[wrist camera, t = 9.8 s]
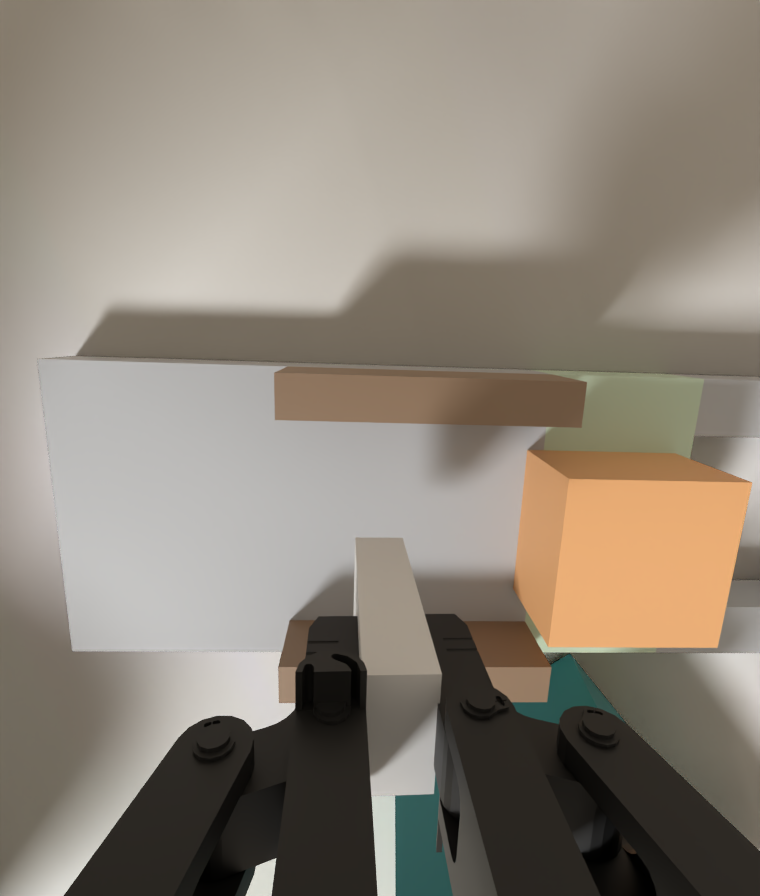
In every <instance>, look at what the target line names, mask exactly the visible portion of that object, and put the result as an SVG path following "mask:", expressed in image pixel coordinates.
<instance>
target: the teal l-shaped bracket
mask: <svg viewBox="0 0 760 896" xmlns="http://www.w3.org/2000/svg"><path fill="white" fill-rule="evenodd" d="M550 666H551V675H550V683H549V691H548V699H547V702H512V704H513V705H514V707H515V709H516V711H517V712H518V713H520V714H522V715H524V716H528V717H531V718H534V719H538V720H543V721H547V722H551V723H556V724H559V719H560V717H561V715H562V714H563V712H564V711H565V710H567V709H569V708H571V707H573V706H590V707H595V708H599V709H602V710H604V711H607V712H609V713H611V714H613V715H615V716H617V717H618V718H619V719H621V720H622V721H623V722H625V721H624V720H623V719H622V717H621V716H620V715H619V714H618V713H617V711H616V710H615V709H614V708H613V706H612V705H611V704H610V703H609V701H608V700H607V699H606V698H605V696H604V695H603V694H602V693H601V691H600V690H599V689H598V688H597V686H596V685H595V684H594V683H593V681H592V680H591V679H590V678H589V676H588V675H587V674H586V673H585V672H584V670H583V669H582V668H581V667H580V665H579V664H578V663H577V662H576V660H575V659H574V658H573V657H572V655H571V654H568V655H566V656H565V657H563V658H561V659H560V660H558V661H556V662H555V663H553V664H551V665H550ZM625 723H626V722H625ZM439 796H440V794H439V789H438V784H437V780H436V775H435V785H434V794H422V795H395V832H396V896H453V893H452V888H451V883H450V878H449V873H448V867H447V862H446V857H445V852H444V846H443V844H442V852H437V853H436V838H437V824H438V810H439Z"/></svg>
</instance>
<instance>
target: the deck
mask: <svg viewBox="0 0 760 896" xmlns="http://www.w3.org/2000/svg"><path fill="white" fill-rule="evenodd" d="M37 363H38V371H39V379H40V388H41V396H42V404H43V413H44V421H45V429H46V438H47V446H48V455H49V463H50V471H51V480H52V488H53V496H54V505H55V513H56V521H57V530H58V538H59V546H60V555H61V563H62V571H63V580H64V588H65V596H66V605H67V613H68V621H69V630H70V638H71V646H72V651H148V652H282V654H281V658H280V663H279V667H278V671H279V703H295V672H296V669H297V667H298V665H299V663H300V662H301V661H302V660H304V659H305V656H306V648H307V640H308V632H309V627H310V626H311V625H312V624H313V622H314V621H315V620H316V619H317V618H318V616H353V612H354V569H355V537H359V538H403V541H404V544H405V548H406V551H407V555H408V558H409V562H410V565H411V569H412V572H413V576H414V579H415V582H416V586H417V589H418V593H419V596H420V600H421V603H422V607H423V610H424V614H455V615H456V616H458V617H459V618H460V619H461V620H462V621H463V622H464V623H466V624H467V626H468V628H469V631H470V633H471V635H472V638H473V640H474V642H475V645H476V647H477V651H478V652H479V654H480V656H481V659H482V661H483V664H484V666H485V668H486V671H487V673H488V675H489V678H490V680H491V682H492V685H493V687H494V688H495V689H497V690H499V691H500V692H502V693H503V694H504V695H506V696H507V697H508V698H509V700H510V701H511V702H547V699H548V691H549V683H550V675H551V666H550V664H549V662H548V660H547V659H546V657H545V655H544V654H543V652H570V653H760V580H732V581H731V586H730V591H729V596H728V601H727V605H726V610H725V615H724V620H723V624H722V629H721V634H720V639H719V644H718V648H632V647H548V646H547V644H546V642H545V641H544V639H543V637H542V636H541V634H540V633H539V631H538V629H537V628H536V626H535V624H534V623H533V621H532V619H531V618H530V616H529V614H528V613H527V611H526V609H525V608H524V606H523V604H522V603H521V601H520V599H519V598H518V596H517V594H516V593H515V591H514V590H513V584H514V574H515V565H516V555H517V545H518V535H519V525H520V516H521V506H522V496H523V486H524V476H525V467H526V457H527V450H554V451H597V452H641V453H676V454H678V455H681V456H684V457H686V458H689V459H690V457H691V451H692V446H693V440H694V436H716V437H757V438H760V377H754V376H721V375H688V374H655V373H623V372H590V371H557V370H524V369H491V368H458V367H426V366H393V365H360V364H327V363H294V362H261V361H229V360H196V359H163V358H130V357H97V356H67V357H55V358H42V359H37Z"/></svg>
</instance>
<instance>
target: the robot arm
mask: <svg viewBox="0 0 760 896" xmlns="http://www.w3.org/2000/svg"><path fill="white" fill-rule="evenodd" d="M435 775H436V780H437V784H438V789H439V794H440V796H439V810H438V824H437V838H436V853H437V852H442V844H443V846H444V852H445V857H446V862H447V867H448V873H449V878H450V883H451V888H452V893H453V896H760V851H759V850H758V849H757V848H756V847H755V846H754V845H753V844H752V843H751V842H750V841H748V840H747V839H746V838H745V837H744V836H743V835H742V834H741V833H740V832H739V831H738V830H737V829H736V828H735V827H734V826H733V825H732V824H731V823H730V822H729V821H728V820H727V819H725V818H724V817H723V816H722V815H721V814H720V813H719V812H718V811H717V810H716V809H715V808H714V807H713V806H712V805H711V804H710V803H709V802H708V801H707V800H706V799H705V798H704V797H702V796H701V795H700V794H699V793H698V792H697V791H696V790H695V789H694V788H693V787H692V786H691V785H690V784H689V783H688V782H687V781H686V780H685V779H684V778H683V777H682V776H681V775H680V774H678V773H677V772H676V771H675V770H674V769H673V768H672V767H671V766H670V765H669V764H668V763H667V762H666V761H665V760H664V759H663V758H662V757H661V756H660V755H659V754H658V753H657V752H655V751H654V750H653V749H652V748H651V747H650V746H649V745H648V744H647V743H646V742H645V741H644V740H643V739H642V738H641V737H640V736H639V735H638V734H637V733H636V732H635V731H634V730H632V729H631V728H630V727H629V726H628V725H627V724H626V723H625V722H623V721H622V720H621V719H619V718H618V717H617V716H615V715H613V714H611V713H609V712H607V711H604V710H602V709H599V708H595V707H590V706H573V707H571V708H569V709H567V710H565V711H564V712H563V714H562V715H561V717H560V719H559V724H556V723H551V722H547V721H543V720H538V719H534V718H531V717H528V716H524V715H522V714H520V713H518V712H517V711H516V709H515V707H514V705H513V704H512V702H511V701H510V700H509V698H508V697H507V696H506V695H504V694H503V693H502V692H500V691H499V690H497V689H495V688H494V687H493V685H492V682H491V680H490V678H489V675H488V673H487V671H486V668H485V666H484V664H483V661H482V659H481V656H480V654H479V652H478V651H477V647H476V645H475V642H474V640H473V638H472V635H471V633H470V631H469V628H468V626H467V624H466V623H464V622H463V621H462V620H461V619H460V618H459V617H458V616H456V615H455V614H424V610H423V607H422V603H421V600H420V596H419V593H418V589H417V586H416V582H415V579H414V576H413V572H412V569H411V565H410V562H409V558H408V555H407V551H406V548H405V544H404V541H403V538H359V537H355V569H354V612H353V616H318V618H317V619H316V620H315V621H314V622H313V624H312V625H311V626H310V627H309V632H308V640H307V648H306V656H305V659H304V660H302V661H301V662H300V663H299V665H298V667H297V669H296V672H295V710H294V711H293V712H292V713H291V714H290V715H289V716H288V717H287V718H285V719H284V720H282V721H280V722H279V723H277V724H274V725H271V726H269V727H266V728H263V729H259V730H255V731H252V729H251V727H250V726H249V725H248V724H247V723H246V722H245V721H244V720H242V719H239V718H236V717H233V716H215V717H212V718H208V719H204V720H202V721H200V722H198V723H196V724H194V725H193V726H191V727H189V728H188V729H187V730H186V731H185V732H184V733H183V734H182V735H181V736H180V737H179V738H178V739H177V741H176V742H175V743H174V745H173V746H172V748H171V749H170V750H169V752H168V753H167V754H166V756H165V757H164V759H163V760H162V761H161V763H160V764H159V765H158V767H157V768H156V770H155V771H154V772H153V774H152V775H151V776H150V778H149V779H148V781H147V782H146V783H145V785H144V786H143V787H142V789H141V790H140V792H139V793H138V794H137V796H136V797H135V798H134V800H133V801H132V803H131V804H130V805H129V807H128V808H127V809H126V811H125V812H124V814H123V815H122V816H121V818H120V819H119V820H118V822H117V823H116V825H115V826H114V827H113V829H112V830H111V831H110V833H109V834H108V836H107V837H106V838H105V840H104V841H103V842H102V844H101V845H100V847H99V848H98V849H97V851H96V852H95V853H94V855H93V856H92V858H91V859H90V860H89V862H88V863H87V864H86V866H85V867H84V869H83V870H82V871H81V873H80V874H79V875H78V877H77V878H76V880H75V881H74V882H73V884H72V885H71V886H70V888H69V889H68V891H67V892H66V893H65V895H64V896H245V895H246V893H247V890H248V888H249V885H250V883H251V880H252V878H253V875H254V872H255V867H256V866H257V865H259V864H262V863H264V862H267V861H269V860H272V859H275V858H277V859H276V866H275V874H274V882H273V890H272V896H377V880H376V864H375V848H374V831H373V815H372V798H371V796H394V795H422V794H434V785H435Z"/></svg>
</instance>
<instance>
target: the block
mask: <svg viewBox="0 0 760 896" xmlns="http://www.w3.org/2000/svg"><path fill="white" fill-rule="evenodd" d="M751 486H752V482H749V481H747V480H744V479H741V478H739V477H736V476H733V475H731V474H728V473H726V472H723V471H720V470H718V469H715V468H712V467H710V466H707V465H705V464H702V463H699V462H697V461H694V460H691V459H689V458H686V457H684V456H681V455H678V454H676V453H641V452H597V451H554V450H527V457H526V467H525V476H524V486H523V496H522V506H521V516H520V525H519V535H518V545H517V555H516V565H515V574H514V584H513V590H514V591H515V593H516V594H517V596H518V598H519V599H520V601H521V603H522V604H523V606H524V608H525V609H526V611H527V613H528V614H529V616H530V618H531V619H532V621H533V623H534V624H535V626H536V628H537V629H538V631H539V633H540V634H541V636H542V637H543V639H544V641H545V642H546V644H547V646H548V647H632V648H718V644H719V639H720V634H721V629H722V624H723V620H724V615H725V610H726V605H727V601H728V596H729V591H730V586H731V581H732V577H733V572H734V567H735V562H736V557H737V553H738V548H739V543H740V538H741V534H742V529H743V524H744V519H745V514H746V510H747V505H748V500H749V495H750V491H751Z"/></svg>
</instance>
